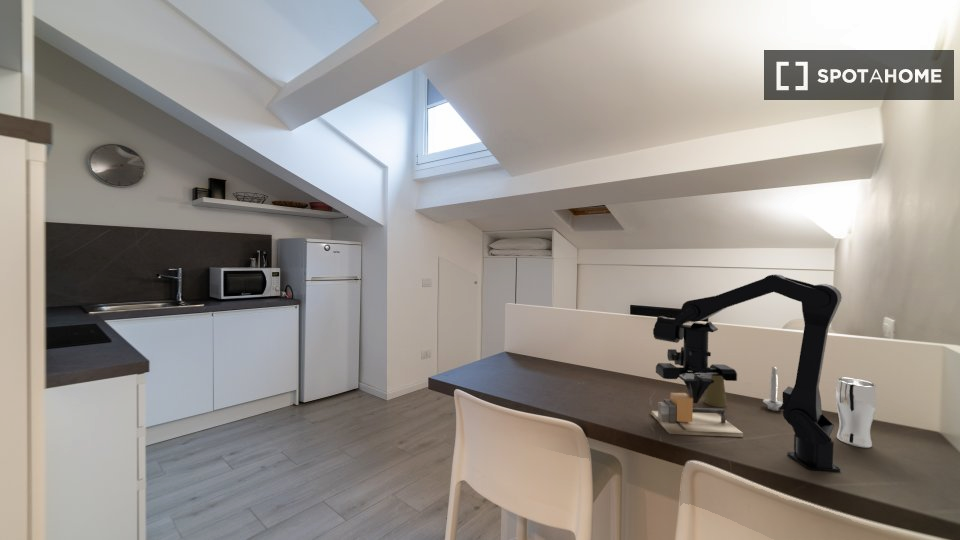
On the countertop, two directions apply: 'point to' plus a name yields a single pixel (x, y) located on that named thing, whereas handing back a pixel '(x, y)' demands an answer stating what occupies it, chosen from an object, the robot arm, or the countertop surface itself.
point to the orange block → (683, 406)
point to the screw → (773, 392)
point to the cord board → (695, 421)
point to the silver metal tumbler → (855, 411)
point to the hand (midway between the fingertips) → (694, 402)
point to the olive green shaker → (716, 393)
